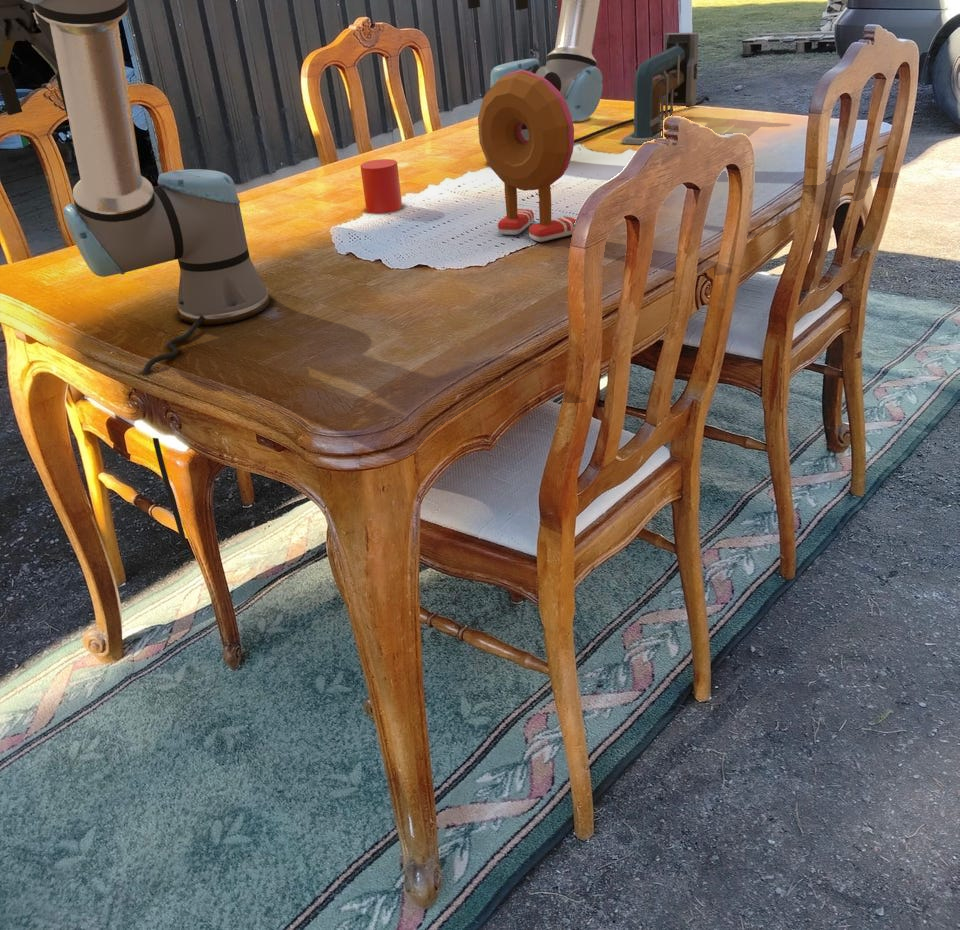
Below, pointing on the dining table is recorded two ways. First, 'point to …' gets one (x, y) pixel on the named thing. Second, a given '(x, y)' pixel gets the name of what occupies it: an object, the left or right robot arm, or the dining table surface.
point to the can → (381, 186)
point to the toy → (528, 147)
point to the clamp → (664, 85)
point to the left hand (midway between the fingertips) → (44, 113)
